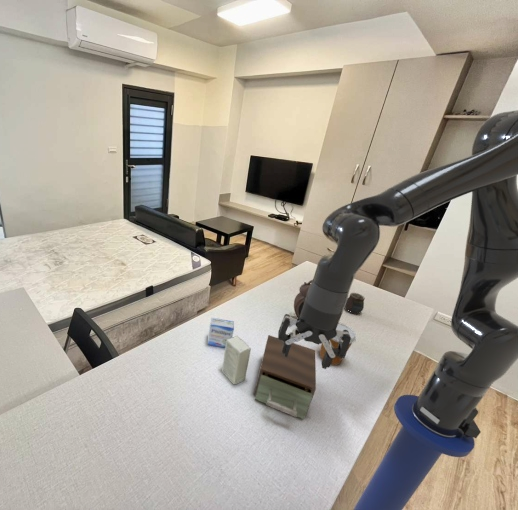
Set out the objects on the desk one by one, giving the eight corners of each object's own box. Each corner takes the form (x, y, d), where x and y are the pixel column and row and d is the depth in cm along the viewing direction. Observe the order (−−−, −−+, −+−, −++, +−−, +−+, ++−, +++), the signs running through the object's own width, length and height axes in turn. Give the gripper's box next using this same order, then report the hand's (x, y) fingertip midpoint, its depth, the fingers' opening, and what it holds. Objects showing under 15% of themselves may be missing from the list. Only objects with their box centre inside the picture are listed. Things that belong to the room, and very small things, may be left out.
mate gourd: (356, 307, 127) (364, 288, 123) (364, 317, 120) (372, 297, 116) (340, 305, 127) (347, 286, 123) (347, 314, 120) (354, 295, 116)
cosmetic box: (245, 380, 82) (252, 348, 77) (233, 385, 80) (240, 353, 75) (231, 365, 87) (237, 334, 82) (220, 370, 85) (226, 338, 80)
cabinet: (305, 415, 73) (315, 388, 69) (253, 394, 78) (260, 368, 74) (306, 374, 86) (315, 350, 82) (262, 358, 91) (268, 334, 87)
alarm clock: (289, 325, 110) (302, 281, 102) (289, 315, 116) (301, 273, 108) (329, 335, 106) (346, 290, 98) (326, 324, 112) (341, 281, 105)
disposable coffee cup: (336, 372, 88) (347, 343, 83) (309, 354, 95) (318, 325, 90) (350, 362, 93) (362, 333, 88) (324, 345, 100) (334, 317, 96)
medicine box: (207, 345, 95) (210, 324, 92) (208, 336, 99) (211, 316, 96) (230, 349, 94) (234, 328, 91) (230, 340, 98) (233, 320, 95)
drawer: (303, 435, 67) (312, 412, 64) (251, 412, 71) (257, 390, 68) (305, 379, 83) (312, 359, 80) (263, 363, 88) (268, 344, 85)
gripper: (289, 302, 58) (272, 361, 64) (365, 321, 54) (339, 382, 60) (289, 286, 65) (274, 341, 71) (357, 303, 61) (334, 359, 67)
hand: (304, 360), depth 66 cm, fingers open, 8 cm apart
